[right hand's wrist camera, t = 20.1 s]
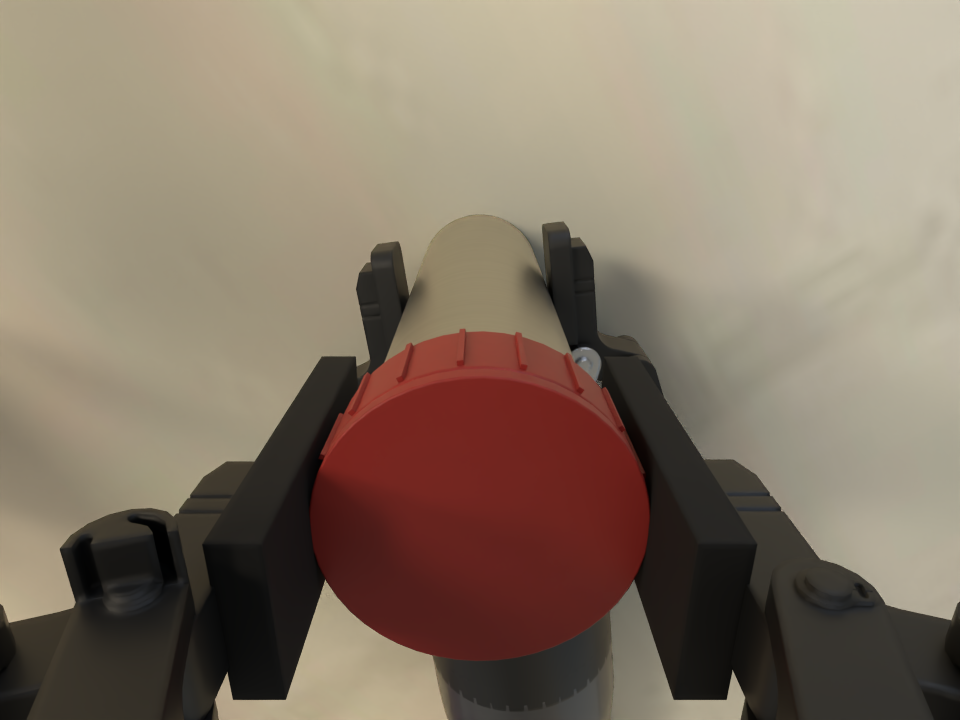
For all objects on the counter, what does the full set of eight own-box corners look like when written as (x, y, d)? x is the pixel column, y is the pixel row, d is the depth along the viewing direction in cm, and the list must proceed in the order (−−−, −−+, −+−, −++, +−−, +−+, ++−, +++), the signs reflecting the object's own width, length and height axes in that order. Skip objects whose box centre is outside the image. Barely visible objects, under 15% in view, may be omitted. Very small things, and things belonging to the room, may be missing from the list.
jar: (494, 345, 28) (512, 648, 12) (401, 286, 27) (292, 533, 11) (559, 256, 27) (675, 470, 11) (463, 190, 26) (437, 320, 10)
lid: (270, 438, 12) (230, 502, 10) (517, 263, 11) (526, 298, 9) (450, 623, 14) (445, 710, 12) (681, 491, 13) (719, 563, 11)
